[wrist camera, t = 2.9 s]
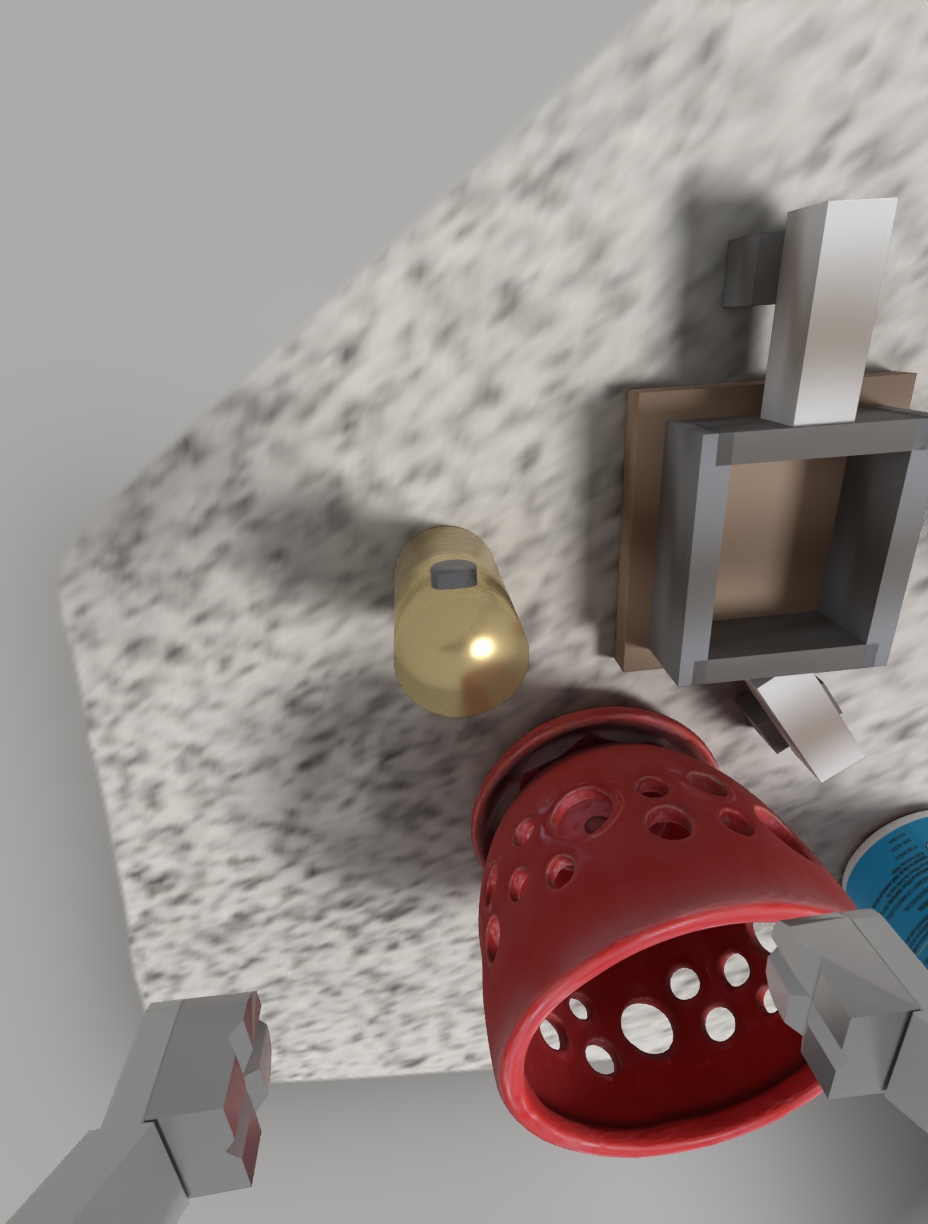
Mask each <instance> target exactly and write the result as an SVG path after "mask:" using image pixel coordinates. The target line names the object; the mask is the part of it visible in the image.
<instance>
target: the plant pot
mask: <svg viewBox="0 0 928 1224" xmlns="http://www.w3.org/2000/svg"><path fill="white" fill-rule="evenodd" d="M471 833H472V842H473V847H474V850H475V853H476V856H477V859H478V861H479V863H480V865H481V866H482V868H483V870H484V873H483V879H482V885H481V892H480V902H479V917H478V920H479V939H480V946H481V954H482V967H483V1003H484V1012H485V1020H486V1028H487V1035H488V1042H489V1048H490V1054H491V1059H492V1065H493V1071H494V1075H495V1079H496V1084H497V1088H498V1091H499V1094H500V1096H501V1098H502V1100H503V1102H504V1104H505V1106H506V1107H507V1109H508V1110H509V1112H510V1113H511V1114H512V1115H513V1117H514V1118H515V1119H516V1120H517V1121H518V1122H519V1123H520V1124H521V1125H523V1126H524V1127H525V1128H526V1129H527V1130H528V1131H530V1132H531V1133H533V1134H534V1135H536V1136H537V1137H539V1138H541V1139H542V1140H544V1141H547V1142H549V1143H551V1144H554V1145H557V1146H559V1147H563V1148H566V1149H568V1150H572V1151H577V1152H581V1153H587V1154H592V1155H599V1156H608V1157H629V1158H630V1157H631V1158H634V1157H635V1158H637V1157H649V1156H657V1155H665V1154H673V1153H679V1152H684V1151H689V1150H694V1149H699V1148H703V1147H706V1146H710V1145H713V1144H717V1143H720V1142H723V1141H727V1140H730V1139H733V1138H736V1137H739V1136H741V1135H744V1134H747V1133H749V1132H752V1131H754V1130H756V1129H759V1128H761V1127H763V1126H765V1125H768V1124H770V1123H772V1122H774V1121H776V1120H778V1119H780V1118H782V1117H783V1116H785V1115H787V1114H788V1113H790V1112H791V1111H793V1110H795V1109H797V1108H798V1107H800V1106H802V1105H803V1104H805V1103H807V1102H808V1101H810V1100H812V1099H813V1098H815V1097H816V1096H817V1095H819V1094H820V1093H821V1092H823V1090H822V1088H821V1086H820V1084H819V1082H818V1081H817V1079H816V1077H815V1075H814V1074H813V1072H812V1070H811V1068H810V1067H809V1065H808V1063H807V1061H806V1060H805V1058H804V1056H803V1054H802V1053H801V1048H802V1035H801V1034H800V1033H798V1032H797V1031H796V1030H794V1029H793V1028H791V1027H790V1026H789V1025H787V1024H786V1023H785V1022H784V1021H783V1019H782V1017H781V1015H780V1013H779V1012H778V1010H777V1011H776V1012H775V1013H768V1012H767V1010H766V1008H765V1006H764V995H765V992H766V991H767V990H768V989H769V986H768V981H767V976H766V967H767V959H768V956H769V955H770V954H771V953H770V952H768V951H767V950H766V949H764V948H763V947H762V945H761V944H760V942H759V941H758V939H757V937H756V935H755V932H754V928H753V922H778V921H780V920H786V919H793V918H799V917H806V916H813V915H819V914H826V913H833V912H837V913H841V912H847V911H854V910H859V909H858V908H857V906H856V905H855V904H854V902H853V901H852V900H851V898H850V897H849V896H848V895H847V893H846V892H845V891H844V890H843V888H842V887H841V886H840V885H839V883H838V882H837V881H836V880H835V878H834V877H833V876H832V875H831V874H830V872H829V871H828V870H827V869H826V868H825V867H824V865H823V864H822V863H821V862H820V861H819V860H818V859H817V857H816V856H815V855H814V854H813V853H812V852H811V851H810V849H809V848H808V847H807V846H806V845H805V844H804V843H803V842H802V841H801V840H800V839H799V838H798V837H797V836H796V834H795V833H794V832H793V831H792V830H791V829H790V828H789V827H788V826H787V825H786V824H785V823H784V822H783V821H782V820H781V819H780V818H779V817H778V816H777V815H776V814H775V813H774V812H773V811H772V810H770V809H769V808H768V807H767V806H766V805H765V804H764V803H763V802H762V801H761V800H759V799H758V798H757V797H756V796H754V795H753V794H752V793H751V792H749V791H748V790H747V789H746V788H744V787H743V786H742V785H740V784H739V783H737V782H736V781H735V780H733V779H732V778H730V777H729V776H727V775H726V774H724V773H722V772H721V771H719V768H718V765H717V763H716V761H715V759H714V757H713V755H712V753H711V752H710V750H709V749H708V747H707V746H706V745H705V743H704V742H703V741H702V740H701V739H700V738H699V737H698V736H697V735H696V734H695V733H694V732H692V731H691V730H690V729H688V728H687V727H686V726H684V725H683V724H681V723H679V722H678V721H676V720H674V719H672V718H670V717H667V716H665V715H662V714H659V713H656V712H654V711H648V710H645V709H640V708H634V707H600V708H593V709H587V710H582V711H577V712H574V713H570V714H566V715H563V716H560V717H558V718H555V719H553V720H550V721H548V722H546V723H544V724H542V725H540V726H538V727H536V728H535V729H533V730H532V731H530V732H529V733H527V734H526V735H524V736H523V737H522V738H521V739H519V740H518V741H517V742H516V743H515V744H514V745H513V746H511V747H510V748H509V749H508V750H507V751H506V752H505V753H504V754H503V756H502V757H501V758H500V759H499V760H498V761H497V763H496V764H495V765H494V766H493V768H492V769H491V771H490V772H489V774H488V775H487V777H486V779H485V781H484V782H483V784H482V786H481V788H480V790H479V793H478V795H477V798H476V801H475V804H474V808H473V814H472V822H471ZM735 953H739V954H740V955H742V956H743V957H744V958H745V959H746V961H747V963H748V965H749V968H750V974H749V978H748V979H747V981H746V982H745V983H744V984H742V985H740V986H738V987H734V986H732V985H731V984H730V983H729V982H728V981H727V979H726V977H725V974H724V965H725V963H726V960H727V959H728V958H729V957H730V956H731V955H732V954H735ZM681 968H688V969H691V970H693V971H694V972H695V973H696V974H697V976H698V978H699V981H700V988H699V991H698V993H697V994H696V996H694V997H693V998H691V999H687V1000H681V999H679V998H677V997H676V996H675V995H674V994H673V992H672V990H671V986H670V979H671V977H672V975H673V973H674V972H676V971H677V970H678V969H681ZM571 998H573V999H577V1000H579V1001H580V1002H581V1003H582V1004H583V1005H584V1007H585V1008H586V1010H587V1019H585V1020H584V1019H579V1018H577V1017H576V1016H575V1015H574V1014H573V1013H572V1011H571V1009H570V1006H569V1001H570V999H571ZM636 1003H641V1004H648V1005H652V1006H654V1007H655V1008H657V1009H659V1010H660V1011H661V1012H663V1013H664V1014H665V1016H666V1017H667V1018H668V1020H669V1022H670V1024H671V1027H672V1030H673V1042H672V1044H671V1046H670V1048H669V1049H668V1050H666V1051H665V1052H663V1053H659V1054H649V1053H646V1052H643V1051H641V1050H639V1049H638V1048H637V1047H636V1046H634V1045H633V1044H632V1043H630V1042H629V1041H628V1040H627V1038H626V1037H625V1036H624V1034H623V1031H622V1028H621V1017H622V1013H623V1011H624V1010H625V1009H626V1008H627V1007H628V1006H630V1005H632V1004H636ZM717 1007H723V1008H726V1009H728V1010H729V1011H730V1012H731V1013H732V1014H733V1016H734V1018H735V1031H734V1033H733V1034H732V1035H731V1036H730V1037H729V1038H728V1039H727V1040H725V1041H721V1042H719V1041H715V1040H713V1039H712V1038H710V1036H709V1035H708V1033H707V1030H706V1026H705V1022H706V1017H707V1015H708V1013H709V1012H710V1011H711V1010H712V1009H714V1008H717ZM545 1019H546V1020H547V1021H548V1022H549V1023H550V1024H551V1025H552V1026H553V1027H554V1028H555V1030H556V1031H557V1033H558V1036H559V1041H560V1048H559V1050H556V1049H553V1048H551V1047H550V1046H549V1045H548V1044H547V1043H546V1041H545V1040H544V1038H543V1036H542V1034H541V1031H540V1025H541V1023H542V1022H543V1021H544V1020H545ZM588 1045H597V1046H599V1047H601V1048H603V1049H604V1050H605V1051H606V1052H607V1053H608V1054H609V1055H610V1057H611V1058H612V1061H613V1063H614V1072H613V1073H611V1074H601V1073H599V1072H597V1071H595V1070H594V1069H593V1068H592V1067H591V1065H590V1064H589V1062H588V1061H587V1058H586V1053H585V1050H586V1047H587V1046H588Z"/></svg>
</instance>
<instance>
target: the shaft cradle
mask: <svg viewBox="0 0 928 1224" xmlns="http://www.w3.org/2000/svg"><path fill="white" fill-rule="evenodd" d="M897 201H898V197H895V198H876V199H856V200H837V201H827V202H823V203H819V204H816V205H812V206H809V207H805V208H802V209H798V210H794V211H791V212H788V215H787V223H786V230H785V232H767V233H757V234H753V235H749V236H745V237H741V238H737V239H733V240H729V245H728V254H727V264H726V274H725V284H724V293H723V303H722V307H735V306H755V305H771V304H776V305H775V312H774V320H773V327H772V334H771V342H770V349H769V357H768V364H767V372H766V379H765V380H758V381H744V382H729V383H715V384H700V385H686V386H672V387H657V388H643V389H629V390H628V396H627V416H626V437H625V457H624V477H623V497H622V518H621V538H620V558H619V579H618V599H617V619H616V640H615V660H616V661H617V663H618V664H619V666H620V667H621V669H622V671H623V672H631V671H641V670H651V669H661V668H664V669H665V670H666V672H667V673H668V674H669V675H670V677H671V678H672V679H673V681H674V682H675V683H676V685H677V686H678V687H680V686H690V685H700V684H710V683H719V682H729V681H739V680H744V681H745V683H746V684H747V686H748V687H749V689H750V690H749V691H748V692H746V693H745V694H743V695H742V696H740V697H739V698H737V699H736V700H735V702H736V703H737V705H738V706H739V707H740V709H741V710H742V712H743V713H744V714H745V716H746V717H747V719H748V720H749V721H750V723H751V724H752V726H753V727H754V728H755V729H756V731H757V732H758V733H759V734H760V735H761V736H762V737H763V739H764V740H765V741H766V742H767V743H768V744H769V745H770V746H771V748H772V749H773V750H774V751H775V752H776V753H777V754H778V753H780V752H781V751H783V750H784V749H786V748H787V747H790V748H791V750H792V751H793V752H794V754H795V755H796V756H797V757H798V758H799V759H800V760H801V761H802V762H803V763H804V765H805V766H806V767H807V768H808V769H809V770H810V771H811V772H812V773H813V774H814V775H815V776H816V778H817V779H818V780H819V781H820V782H821V783H822V782H824V781H826V780H827V779H829V778H830V777H832V776H834V775H835V774H837V773H839V772H840V771H842V770H843V769H845V768H847V767H848V766H850V765H852V764H853V763H855V762H857V761H858V760H860V759H861V758H863V757H865V755H864V753H863V752H862V750H861V748H860V747H859V745H858V744H857V742H856V740H855V739H854V737H853V736H852V734H851V732H850V731H849V729H848V728H847V726H846V724H845V723H844V721H843V719H842V718H841V716H840V714H841V713H842V711H841V710H840V708H839V707H838V705H837V703H836V702H835V700H834V698H833V697H832V695H831V694H830V692H829V690H828V689H827V687H826V686H825V684H824V682H822V681H821V680H820V679H819V678H818V677H816V676H815V675H814V673H819V672H829V671H838V670H848V669H858V668H868V667H878V666H886V665H887V661H888V657H889V653H890V649H891V645H892V641H893V638H894V634H895V630H896V626H897V622H898V618H899V614H900V610H901V606H902V602H903V598H904V594H905V590H906V586H907V582H908V578H909V574H910V571H911V567H912V563H913V559H914V555H915V551H916V547H917V543H918V539H919V535H920V531H921V527H922V523H923V519H924V515H925V511H926V507H927V504H928V413H927V412H921V411H915V410H909V406H910V402H911V397H912V393H913V389H914V384H915V380H916V375H917V373H907V372H897V371H887V372H873V373H864V371H865V366H866V360H867V355H868V350H869V345H870V340H871V335H872V330H873V324H874V319H875V314H876V309H877V304H878V299H879V294H880V288H881V283H882V278H883V273H884V268H885V263H886V258H887V252H888V247H889V242H890V237H891V232H892V227H893V221H894V216H895V211H896V206H897Z"/></svg>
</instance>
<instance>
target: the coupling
mask: <svg viewBox="0 0 928 1224" xmlns="http://www.w3.org/2000/svg"><path fill="white" fill-rule="evenodd" d="M528 663H529V646H528V642H527V638H526V636H525V633H524V631H523V628H522V626H521V623H520V621H519V619H518V616H517V614H516V611H515V609H514V606H513V604H512V602H511V599H510V597H509V594H508V592H507V589H506V587H505V585H504V582H503V580H502V577H501V575H500V572H499V570H498V568H497V565H496V563H495V560H494V558H493V555H492V553H491V551H490V549H489V548H488V546H487V545H486V544H485V543H484V541H482V540H481V539H480V538H479V537H478V536H477V535H475V534H474V533H472V532H470V531H468V530H465V529H463V528H459V527H454V526H440V527H434V528H430V529H427V530H425V531H423V532H421V533H419V534H417V535H416V536H415V537H413V538H412V539H411V540H410V541H409V542H408V543H407V544H406V545H405V546H404V548H403V549H402V551H401V553H400V554H399V557H398V559H397V562H396V566H395V604H394V667H395V672H396V676H397V679H398V682H399V683H400V685H401V687H402V689H403V690H404V692H405V693H406V694H407V696H408V697H409V698H410V699H411V700H412V701H413V702H415V703H416V704H417V705H419V706H420V707H422V708H424V709H425V710H427V711H430V712H432V713H435V714H438V715H442V716H447V717H469V716H475V715H479V714H482V713H485V712H487V711H490V710H492V709H494V708H496V707H498V706H499V705H501V704H502V703H503V702H505V701H506V700H507V699H508V698H509V697H511V696H512V694H513V693H514V692H515V691H516V690H517V688H518V687H519V686H520V684H521V682H522V680H523V679H524V677H525V674H526V671H527V668H528Z"/></svg>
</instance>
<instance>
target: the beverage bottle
mask: <svg viewBox="0 0 928 1224" xmlns="http://www.w3.org/2000/svg"><path fill="white" fill-rule="evenodd" d="M842 888H843V890H844V891H845V892H846V893H847V895H848V896H849V897H850V898H851V900H852V901H853V902H854V904H855V905H856V906H857V908H858V909H859V910H860V909H873V910H875V911H876V912H878V913H880V914H881V915H882V916H883V918H884V919H885V920H886V921H887V922H888V924H889V925H890V926H891V927H892V928H893V929H894V931H895V932H896V933H897V934H898V935H899V937H900V938H901V939H902V940H903V941H904V942H905V944H906V945H907V946H908V947H909V948H910V950H911V951H912V952H913V953H914V954H915V956H916V957H917V958H918V959H919V960H920V961H921V963H922V964H923V965H924V966H925V967H926V969H927V970H928V810H926V811H921V812H916V813H913V814H909V815H906V816H904V817H901V818H899V819H897V820H895V821H892V822H891V823H889V824H887V825H885V826H884V827H882V828H880V829H879V830H878V831H876V832H875V833H873V834H872V835H871V836H870V837H869V838H867V839H866V840H865V841H864V842H863V843H862V844H861V845H860V846H859V848H858V849H857V850H856V851H855V853H854V854H853V855H852V857H851V859H850V860H849V862H848V864H847V866H846V869H845V872H844V875H843V881H842Z"/></svg>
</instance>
